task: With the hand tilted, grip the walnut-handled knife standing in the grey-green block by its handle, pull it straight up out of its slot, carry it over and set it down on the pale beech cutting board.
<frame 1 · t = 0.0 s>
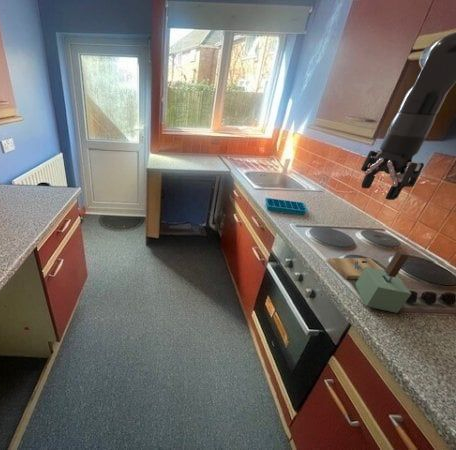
hand: (376, 193, 70), 33 cm above the countertop, tool pointing down, fingers open, 8 cm apart
ice cube tray: (284, 209, 136), on the countertop
knife: (376, 295, 79), point 1 cm above the countertop, touching grey-green block
cutting board: (357, 269, 92), on the countertop
grey-green block: (374, 298, 80), on the countertop
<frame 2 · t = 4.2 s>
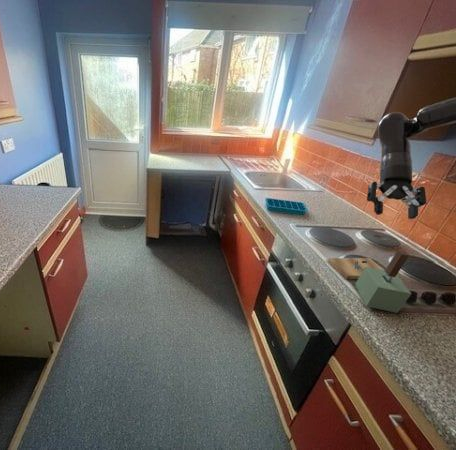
hand: (395, 216, 77), 24 cm above the countertop, tool tilted 45°, fingers open, 8 cm apart
nothing on the countertop moved.
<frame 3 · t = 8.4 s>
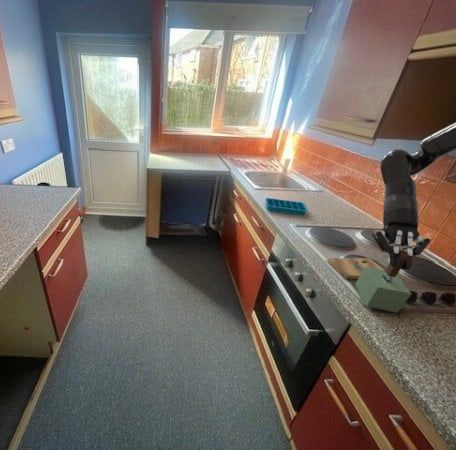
hand: (400, 267, 71), 14 cm above the countertop, tool tilted 45°, fingers closed on knife, 2 cm apart
knife: (375, 295, 79), point 1 cm above the countertop, touching gripper, grey-green block
everything else where it was.
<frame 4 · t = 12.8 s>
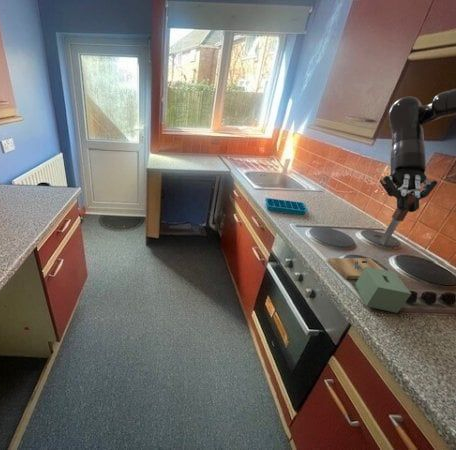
hand: (407, 210, 72), 28 cm above the countertop, tool tilted 45°, fingers closed on knife
knife: (382, 243, 80), point 15 cm above the countertop, touching gripper
everything else where it was.
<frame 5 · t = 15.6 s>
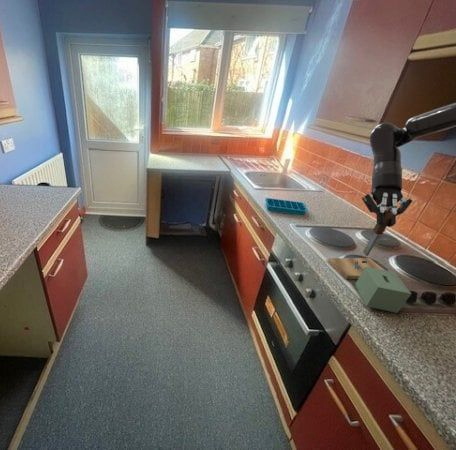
hand: (385, 225, 80), 20 cm above the countertop, tool tilted 45°, fingers closed on knife
knife: (365, 253, 89), point 7 cm above the countertop, touching gripper
everything else where it was.
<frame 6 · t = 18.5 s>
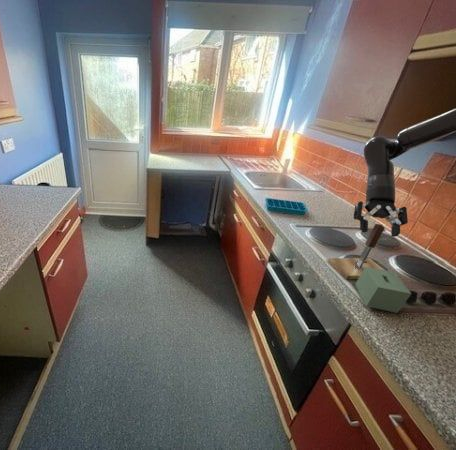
hand: (379, 233, 83), 16 cm above the countertop, tool tilted 45°, fingers open, 8 cm apart
knife: (358, 265, 92), point 2 cm above the countertop, touching cutting board
everything else where it was.
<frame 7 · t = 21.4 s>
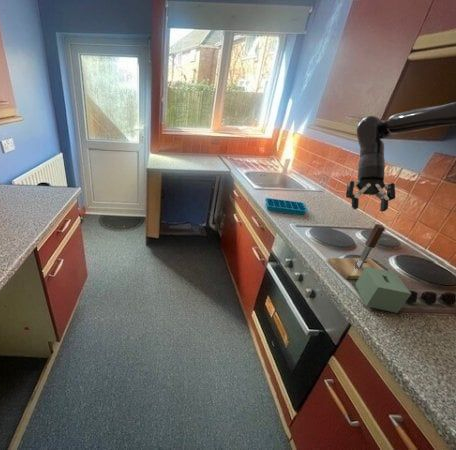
hand: (369, 209, 92), 20 cm above the countertop, tool tilted 40°, fingers open, 8 cm apart
nothing on the countertop moved.
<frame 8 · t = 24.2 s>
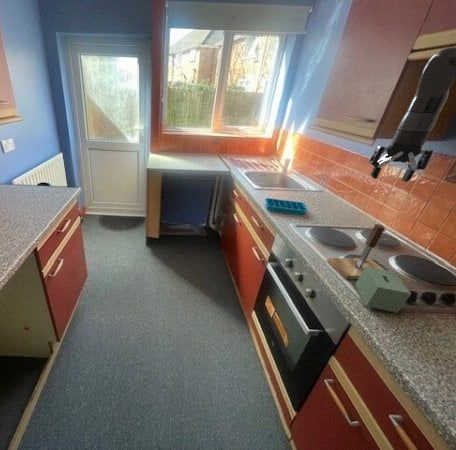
hand: (388, 179, 83), 32 cm above the countertop, tool pointing down, fingers open, 8 cm apart
nothing on the countertop moved.
at the end: knife inside the target area on the cutting board (0.3 cm from its centre), point 1.5 cm above the cutting board's base; the gripper is holding nothing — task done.
